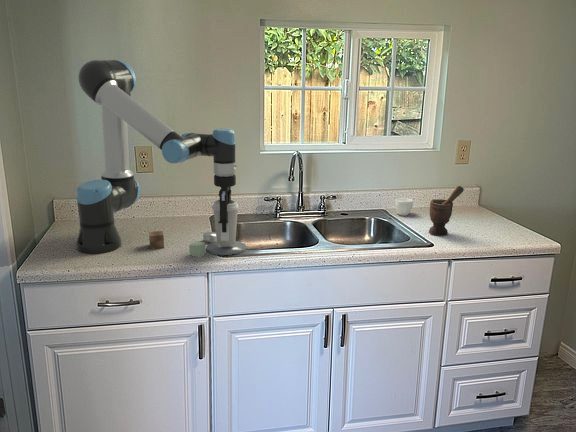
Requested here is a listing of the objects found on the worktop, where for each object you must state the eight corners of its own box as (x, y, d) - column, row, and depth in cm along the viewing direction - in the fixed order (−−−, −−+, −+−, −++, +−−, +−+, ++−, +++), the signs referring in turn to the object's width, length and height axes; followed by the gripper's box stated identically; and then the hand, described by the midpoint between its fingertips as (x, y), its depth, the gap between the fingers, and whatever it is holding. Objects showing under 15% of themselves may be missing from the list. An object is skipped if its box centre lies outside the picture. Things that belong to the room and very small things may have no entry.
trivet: (204, 255, 185) (204, 253, 185) (209, 242, 198) (209, 240, 198) (244, 255, 185) (244, 253, 185) (247, 242, 198) (247, 240, 198)
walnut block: (150, 249, 190) (149, 236, 189) (149, 244, 195) (148, 231, 194) (164, 248, 192) (163, 235, 190) (163, 243, 196) (163, 230, 195)
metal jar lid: (202, 243, 197) (202, 236, 196) (204, 239, 202) (204, 231, 201) (215, 243, 197) (215, 236, 196) (217, 239, 202) (217, 231, 201)
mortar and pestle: (452, 230, 216) (458, 182, 210) (460, 236, 208) (466, 187, 202) (424, 230, 216) (429, 182, 210) (431, 237, 207) (436, 187, 202)
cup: (396, 216, 234) (397, 201, 232) (391, 210, 243) (392, 196, 241) (413, 216, 234) (414, 202, 232) (408, 210, 243) (409, 196, 241)
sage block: (189, 255, 185) (189, 244, 184) (195, 251, 188) (195, 241, 187) (199, 257, 183) (199, 246, 182) (205, 253, 187) (205, 242, 186)
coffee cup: (235, 247, 186) (234, 206, 181) (209, 245, 187) (207, 204, 183) (242, 239, 195) (242, 199, 190) (217, 237, 196) (217, 197, 192)
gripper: (232, 180, 174) (233, 246, 180) (238, 168, 194) (238, 227, 200) (209, 180, 174) (211, 246, 180) (217, 168, 194) (218, 227, 200)
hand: (226, 236), depth 190 cm, fingers closed on coffee cup, 8 cm apart
